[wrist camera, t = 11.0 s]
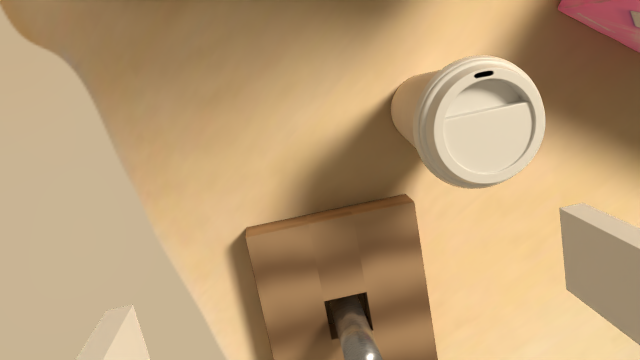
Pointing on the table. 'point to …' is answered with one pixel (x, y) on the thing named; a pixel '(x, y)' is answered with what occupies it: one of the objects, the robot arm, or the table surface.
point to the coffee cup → (472, 120)
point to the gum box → (608, 18)
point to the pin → (353, 329)
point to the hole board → (344, 279)
